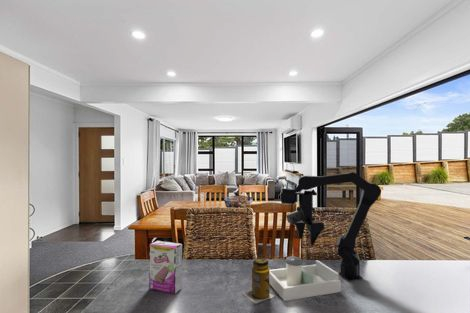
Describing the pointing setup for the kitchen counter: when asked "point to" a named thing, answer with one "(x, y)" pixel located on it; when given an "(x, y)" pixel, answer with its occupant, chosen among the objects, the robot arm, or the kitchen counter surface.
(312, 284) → the white tray
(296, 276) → the jar
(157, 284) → the candy bar box
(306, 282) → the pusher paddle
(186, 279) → the kitchen counter surface
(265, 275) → the condiment
